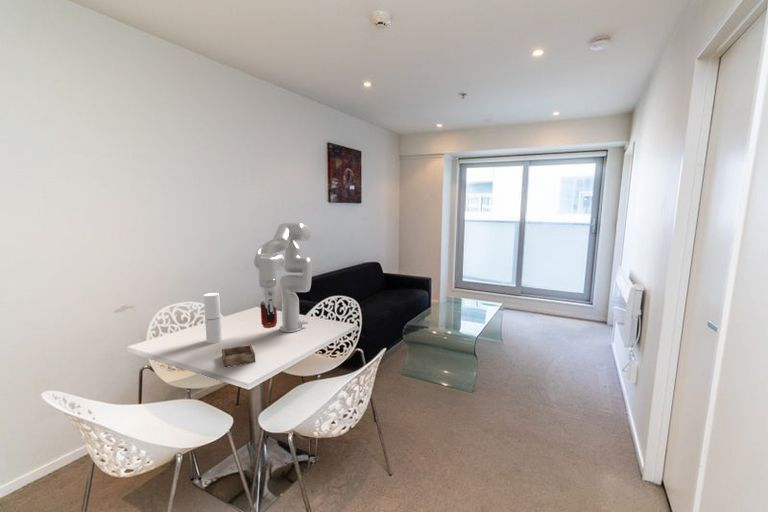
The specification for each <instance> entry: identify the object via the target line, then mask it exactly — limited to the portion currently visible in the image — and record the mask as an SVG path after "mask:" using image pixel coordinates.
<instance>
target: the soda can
mask: <svg viewBox="0 0 768 512" xmlns="http://www.w3.org/2000/svg"><path fill="white" fill-rule="evenodd" d="M277 306H278V305H276V308H275V307H274V306H273V309H274V322H269V323H268V322H267V309H266V308H265V304H264V302H263V301H262V300H261V302H260V319H261V321H260V322H261V325H262V327H263V328H264V329H271V328H276V326H277V323H278V316H277V315H278V311H277V310H278V308H277ZM268 307H270V306H269V304H268ZM269 310H270V309H269Z"/></svg>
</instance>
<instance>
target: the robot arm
mask: <svg viewBox="0 0 768 512" xmlns="http://www.w3.org/2000/svg"><path fill="white" fill-rule="evenodd" d="M311 235H312V232H311V228H310V227H309V226H308V225H306V224H305V223H302V222H283V223H280V224H279V226H278V227H277V229H276V231H275V234H274V235H273V239H270V240H268V241H266V242H265V243H264V244H262V245H261V246H260V247H258V250H257V252H256V254H255V256H254V259H253V264H254V266H255V268H256V269H258V286H259V288H261V302H262V301H263V302H264V304H265V308H266V309H267V322H268V323H269V322H274V309H273V306H274V307H275V308H276V306H277V298H276V297H277V296H276V288H275V287H276V286H277V273H276V272H277V271H279V270H282V269H284V272H285V273H288V274H286V275H283V276H281V277H280V278H279V283H278V284H279V289H280V294H281V295H280V296H281V317H282V318H281V320H282V324H281V326H280V327H279V331H280V332H282V333H295V332H299V331H301V330H302V329H303V325H308V324H309V323H308V320H304V319H303V320H300V300H299V296H298V295H297V293H307V292H310V290H311V286H312V279H313V278H312V277H313V261H312V259H311V258H310V257H309V256H308V257H307V256H301V248H300V246H299V244H298V243H297V242H296V241H303V242H304V241H305V242H306V241H308V240H310V239H311ZM283 251H284V255H282V254H281V253H280V252H283ZM279 253H280V254H279ZM295 274H296V275H295ZM297 274H299V275H297ZM300 274H302V275H300ZM268 304H269V306H270V307H268ZM269 309H270V310H269Z"/></svg>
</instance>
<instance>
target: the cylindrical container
mask: <svg viewBox="0 0 768 512" xmlns="http://www.w3.org/2000/svg"><path fill="white" fill-rule="evenodd" d="M203 300H204V301H203V302H204V303H203V305H204V321H205V323H204V324H205V336H206V337H205V338H206V344H217V343H220V342H221V341H222V336H223V335H222V321H221V318H222V317H221V305H220V304H221V302H220V300H221V299H220V293H219V292H208V293H207V292H206V293H205V294H203Z"/></svg>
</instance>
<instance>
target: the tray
mask: <svg viewBox="0 0 768 512" xmlns="http://www.w3.org/2000/svg"><path fill="white" fill-rule="evenodd" d="M221 357H222V364H223V368H224V367H225V368H230V367H234V365H236V366H241V365H245V363H246V364H251V363H256V354H255V350H254V348H253V344H245V345H240V346H233V347H227V348H222V349H221ZM250 362H251V363H250ZM240 364H241V365H240ZM229 366H230V367H229Z"/></svg>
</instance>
